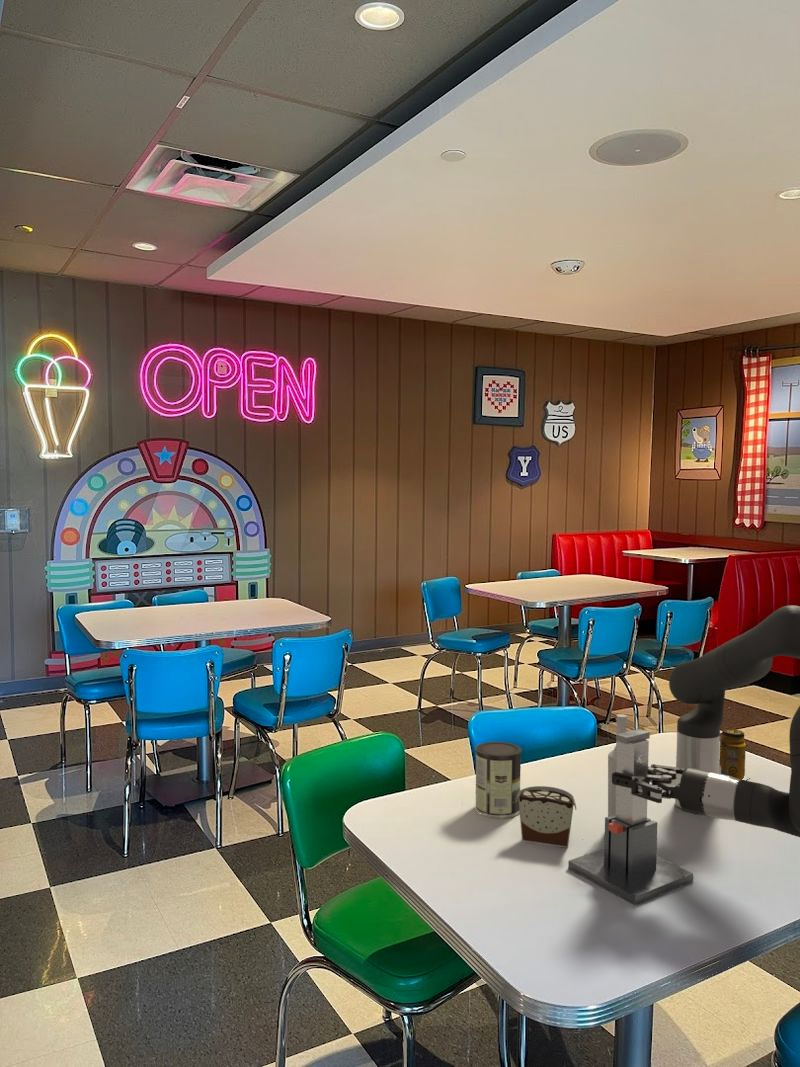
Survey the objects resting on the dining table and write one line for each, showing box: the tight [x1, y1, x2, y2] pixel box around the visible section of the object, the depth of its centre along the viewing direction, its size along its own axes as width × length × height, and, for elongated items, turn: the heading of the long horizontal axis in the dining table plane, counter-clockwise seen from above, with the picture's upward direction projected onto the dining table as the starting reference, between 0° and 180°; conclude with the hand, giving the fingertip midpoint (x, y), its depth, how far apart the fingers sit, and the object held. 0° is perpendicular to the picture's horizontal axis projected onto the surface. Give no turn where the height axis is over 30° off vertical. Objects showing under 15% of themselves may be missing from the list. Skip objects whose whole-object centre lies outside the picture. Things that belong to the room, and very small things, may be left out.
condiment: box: [719, 728, 747, 780], centre depth 200 cm, size 7×8×12 cm
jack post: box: [615, 728, 651, 828], centre depth 148 cm, size 6×4×23 cm, turn 123°
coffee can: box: [475, 741, 522, 819], centre depth 179 cm, size 10×10×14 cm
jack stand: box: [567, 814, 694, 906], centre depth 149 cm, size 16×16×10 cm
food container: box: [516, 785, 577, 848], centre depth 164 cm, size 12×6×10 cm, turn 71°
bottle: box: [607, 713, 628, 817], centre depth 167 cm, size 5×5×25 cm
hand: (618, 773), depth 150 cm, fingers closed on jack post, 5 cm apart
